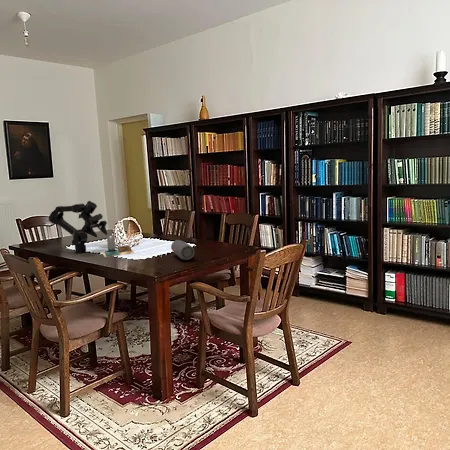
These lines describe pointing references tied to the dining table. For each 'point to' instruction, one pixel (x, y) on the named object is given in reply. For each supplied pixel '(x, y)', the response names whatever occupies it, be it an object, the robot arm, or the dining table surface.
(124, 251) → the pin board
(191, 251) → the bluetooth speaker
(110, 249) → the pin
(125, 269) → the dining table surface
